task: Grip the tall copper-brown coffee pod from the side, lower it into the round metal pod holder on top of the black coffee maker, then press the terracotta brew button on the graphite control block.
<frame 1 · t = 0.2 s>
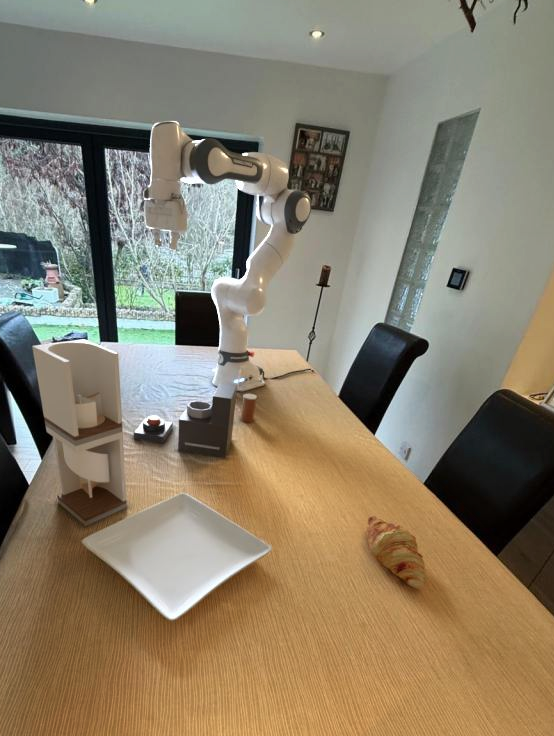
hand: (165, 247, 130), 48 cm above the table, tool pointing down, fingers open, 8 cm apart
coffee maker: (205, 445, 125), on the table
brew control: (153, 433, 129), on the table
spiral staircase model: (92, 505, 96), on the table
brew button: (153, 420, 126), point 4 cm above the table, slide at 0.1 cm
croissant: (389, 557, 89), on the table
coffee pod: (247, 419, 144), on the table
square plate: (178, 557, 84), on the table
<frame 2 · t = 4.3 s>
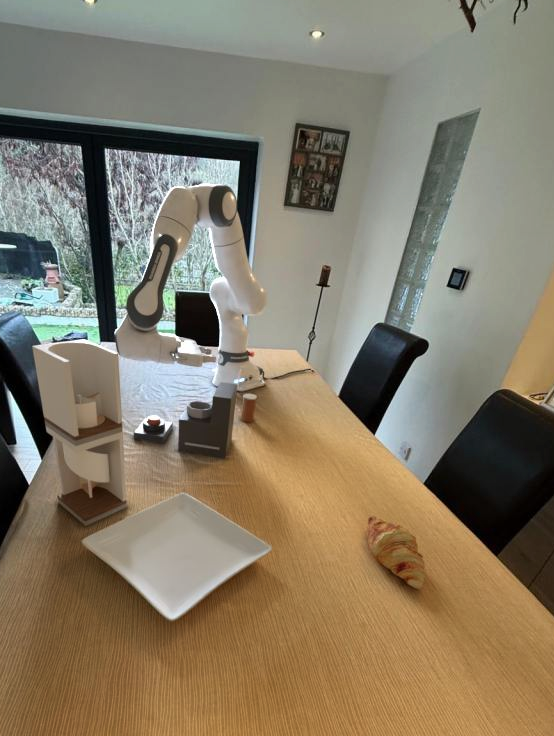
hand: (213, 355, 130), 21 cm above the table, tool horizontal, fingers open, 8 cm apart
nothing on the table moved.
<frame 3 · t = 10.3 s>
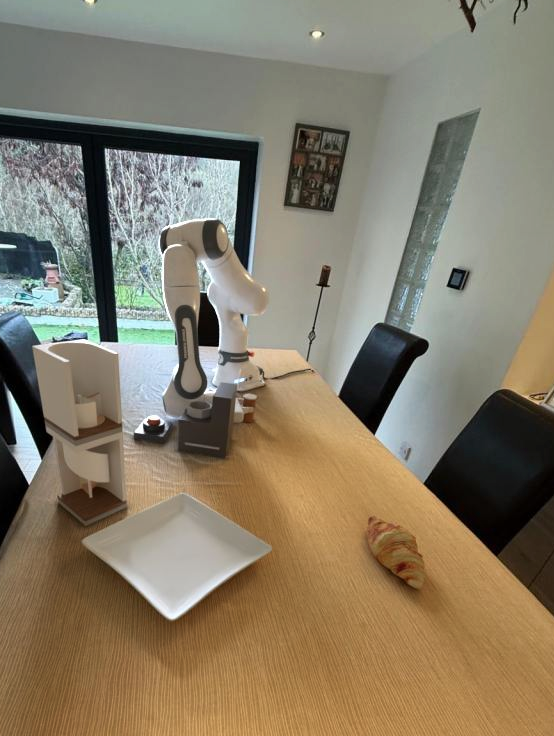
hand: (251, 405, 141), 5 cm above the table, tool horizontal, fingers closed on coffee pod, 4 cm apart
coffee pod: (247, 419, 144), on the table, touching gripper
everything else where it was.
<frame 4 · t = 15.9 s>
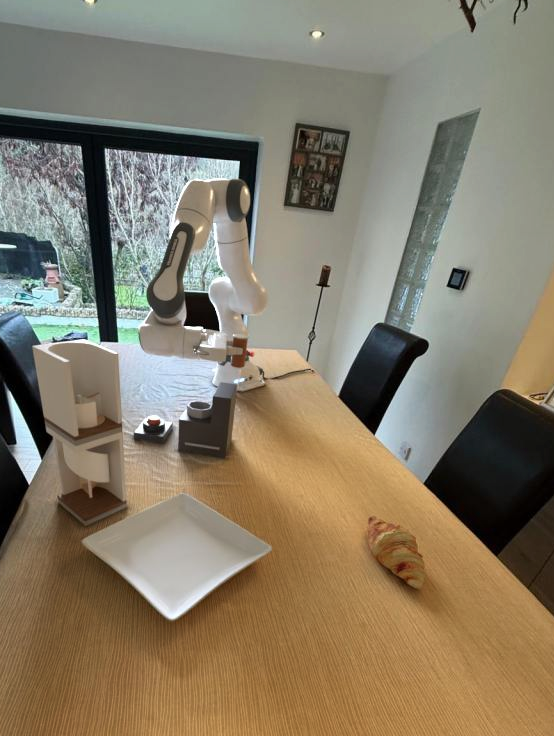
hand: (242, 348, 120), 26 cm above the table, tool horizontal, fingers closed on coffee pod, 4 cm apart
coffee pod: (237, 365, 123), point 21 cm above the table, touching gripper
everything else where it was.
when the fingers open (15 cm above the table, at t = 21.9 s): coffee pod stays where it is, resting on coffee maker.
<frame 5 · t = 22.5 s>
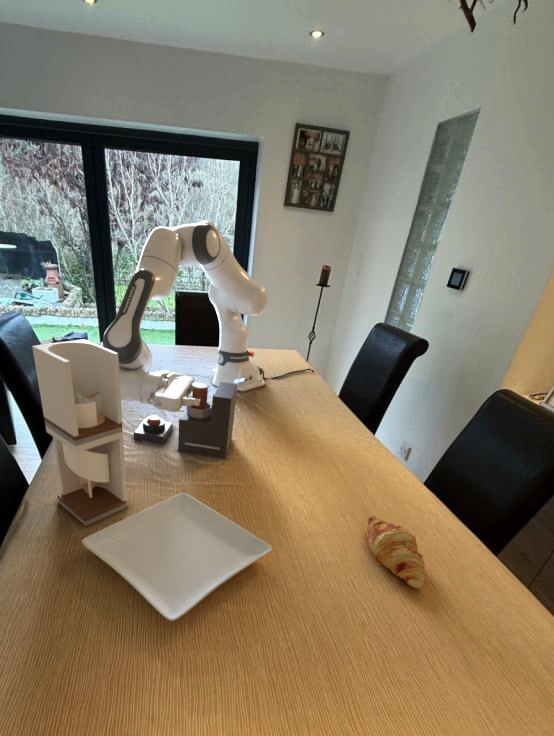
hand: (203, 396, 116), 15 cm above the table, tool horizontal, fingers open, 8 cm apart
coffee pod: (198, 413, 119), point 10 cm above the table, touching coffee maker
everything else where it was.
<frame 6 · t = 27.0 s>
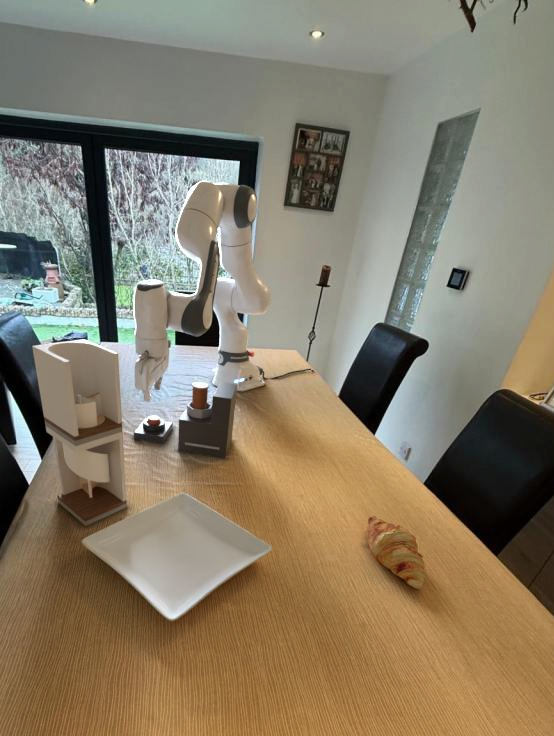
hand: (152, 394, 122), 12 cm above the table, tool pointing down, fingers open, 8 cm apart
nothing on the table moved.
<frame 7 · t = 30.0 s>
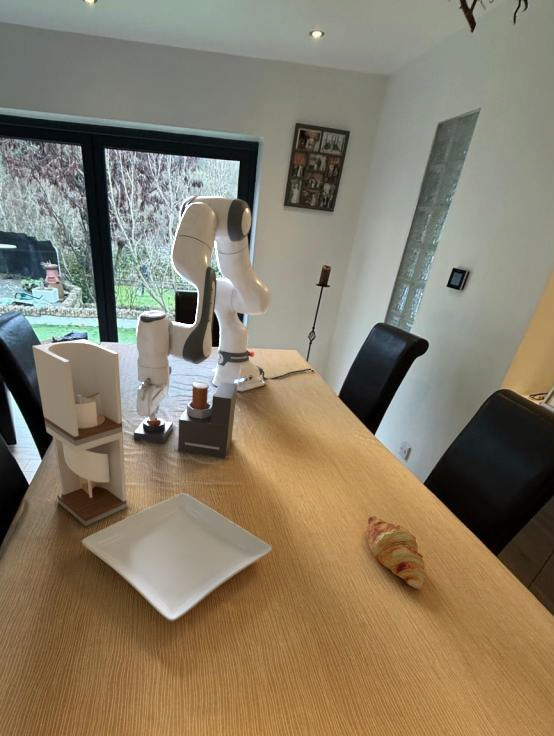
hand: (153, 418, 126), 5 cm above the table, tool pointing down, fingers closed, pressing on brew button
brew button: (153, 421, 126), point 4 cm above the table, slide at -0.3 cm, touching gripper
everything else where it was.
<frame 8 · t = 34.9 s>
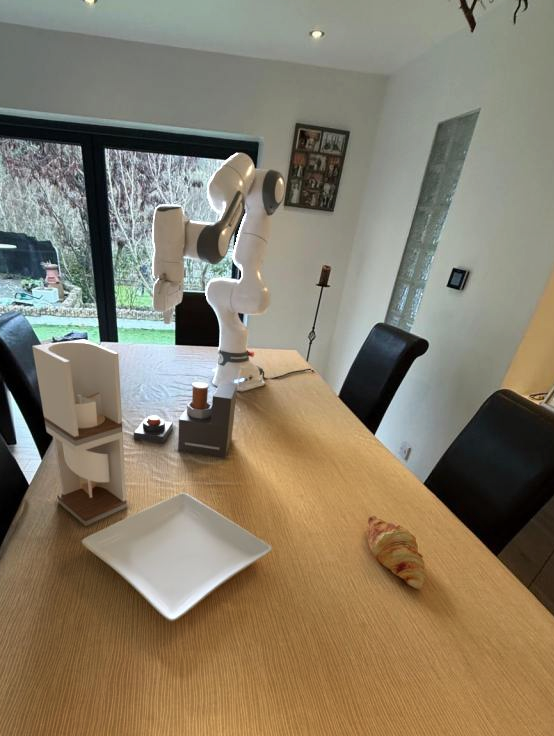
hand: (168, 323, 127), 29 cm above the table, tool pointing down, fingers closed
brew button: (153, 420, 126), point 4 cm above the table, slide at 0.1 cm
everything else where it was.
at the end: coffee pod 0.1 cm from the target spot on the coffee maker, point 10.0 cm above the coffee maker's base; brew button pushed in 1.0 cm at the most during the clip, back to where it started at the end; brew button slide at 0.1 cm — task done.
